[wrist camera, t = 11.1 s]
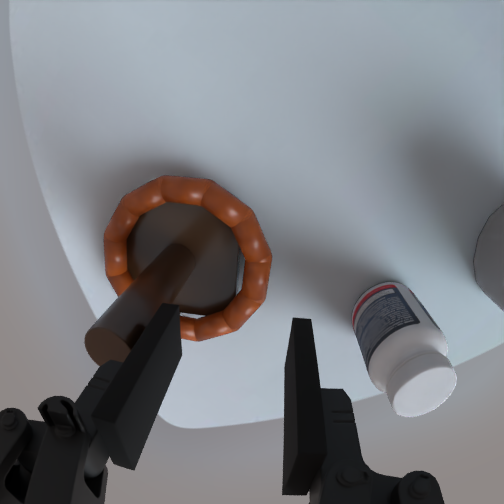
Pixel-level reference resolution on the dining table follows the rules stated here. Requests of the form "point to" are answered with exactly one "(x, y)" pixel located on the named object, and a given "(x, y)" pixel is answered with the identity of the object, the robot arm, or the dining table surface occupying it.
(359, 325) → the pill bottle
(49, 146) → the dining table surface
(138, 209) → the ring
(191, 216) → the post
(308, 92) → the dining table surface
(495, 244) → the cup
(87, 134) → the dining table surface
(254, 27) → the dining table surface
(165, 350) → the robot arm
